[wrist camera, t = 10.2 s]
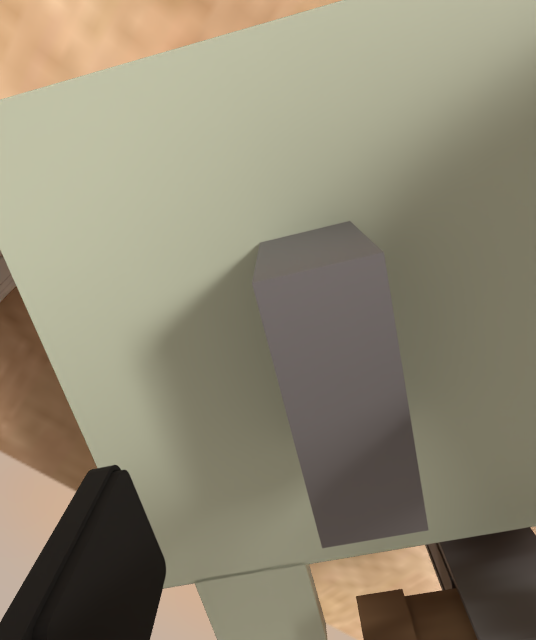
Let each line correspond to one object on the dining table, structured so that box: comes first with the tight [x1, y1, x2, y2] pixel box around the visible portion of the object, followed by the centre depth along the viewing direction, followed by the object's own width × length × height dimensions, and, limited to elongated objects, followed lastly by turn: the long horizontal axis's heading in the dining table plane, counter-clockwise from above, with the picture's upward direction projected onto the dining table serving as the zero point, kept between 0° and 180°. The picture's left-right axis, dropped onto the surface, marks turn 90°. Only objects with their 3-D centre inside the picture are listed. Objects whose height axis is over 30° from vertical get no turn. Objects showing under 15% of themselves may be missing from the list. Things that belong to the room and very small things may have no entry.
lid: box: [0, 0, 536, 640], centre depth 15 cm, size 20×25×6 cm
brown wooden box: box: [425, 527, 536, 640], centre depth 21 cm, size 20×26×17 cm
